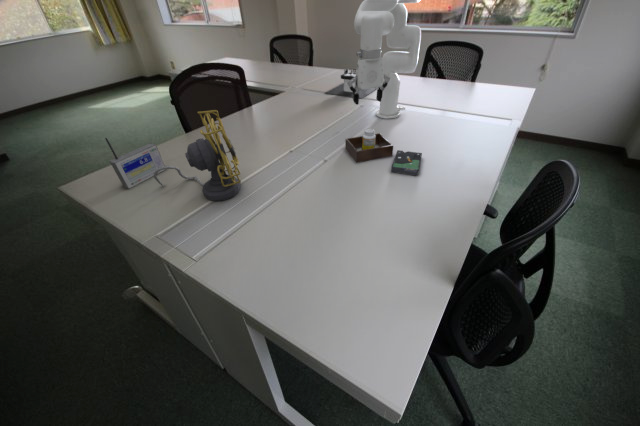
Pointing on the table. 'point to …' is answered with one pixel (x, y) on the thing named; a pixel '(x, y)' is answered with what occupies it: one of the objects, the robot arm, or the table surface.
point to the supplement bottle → (368, 139)
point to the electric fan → (212, 161)
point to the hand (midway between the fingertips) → (367, 102)
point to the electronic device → (137, 164)
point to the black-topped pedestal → (344, 87)
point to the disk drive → (406, 162)
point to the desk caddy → (368, 154)
